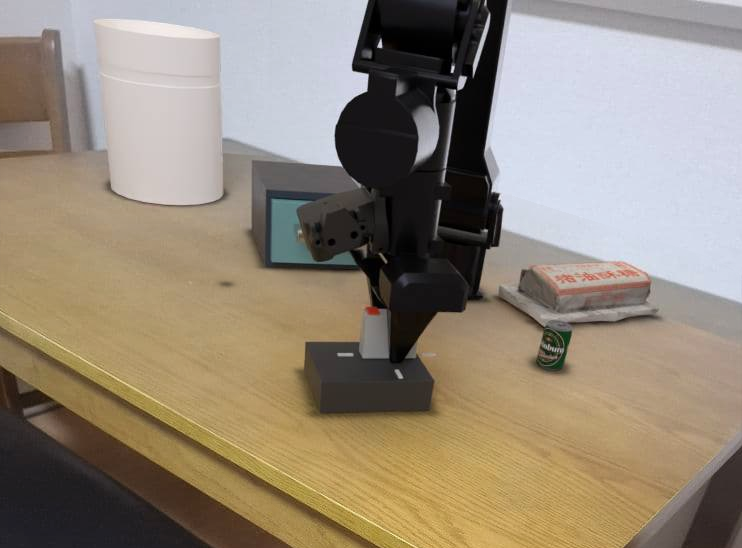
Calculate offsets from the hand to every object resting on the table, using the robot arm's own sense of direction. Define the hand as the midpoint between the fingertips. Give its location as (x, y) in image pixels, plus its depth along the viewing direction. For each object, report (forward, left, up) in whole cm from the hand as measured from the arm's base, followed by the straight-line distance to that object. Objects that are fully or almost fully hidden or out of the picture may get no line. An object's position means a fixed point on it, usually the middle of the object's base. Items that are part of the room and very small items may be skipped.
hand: (387, 350), depth 69 cm
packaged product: (-30, -20, -4) cm, 36 cm away
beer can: (-19, -4, -4) cm, 20 cm away
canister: (+17, -63, -4) cm, 65 cm away
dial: (0, 0, 0) cm, 0 cm away
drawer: (+1, -34, -3) cm, 34 cm away
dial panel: (+1, 0, -3) cm, 4 cm away
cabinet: (+1, -38, -4) cm, 38 cm away
